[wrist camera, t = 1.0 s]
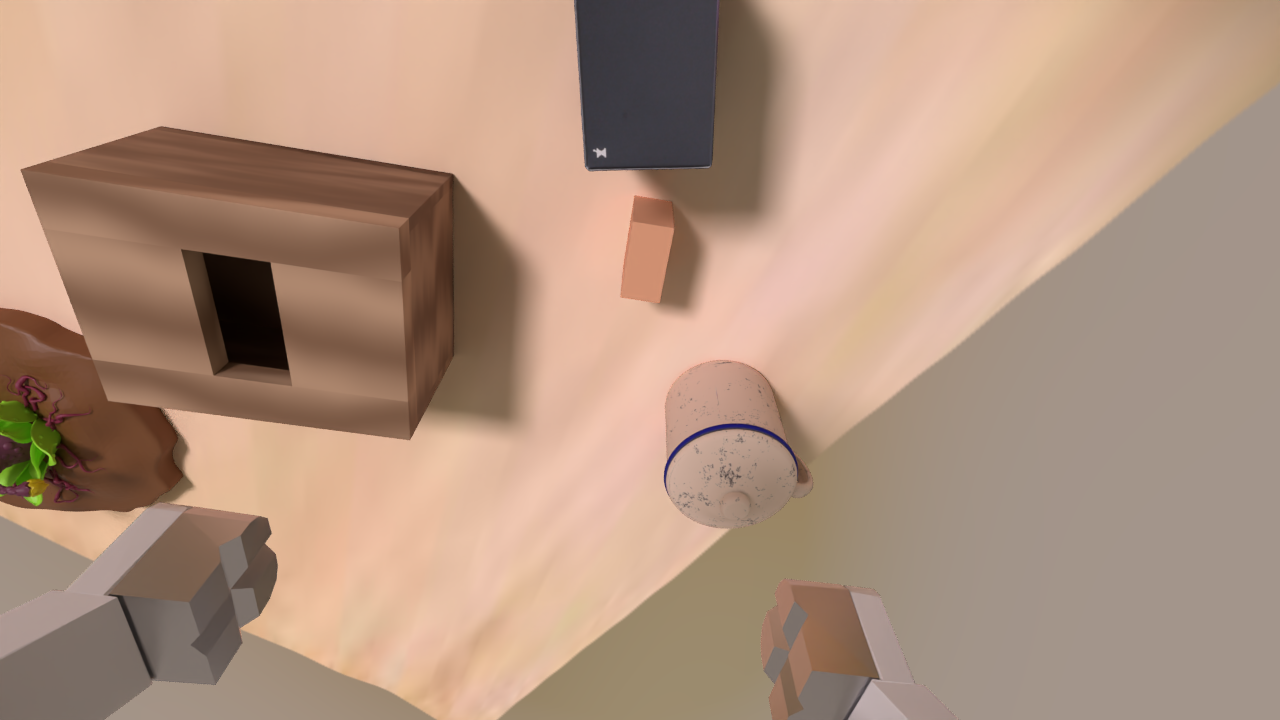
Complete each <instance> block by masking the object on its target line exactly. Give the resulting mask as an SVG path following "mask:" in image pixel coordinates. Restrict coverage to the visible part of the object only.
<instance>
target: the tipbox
mask: <svg viewBox="0 0 1280 720" xmlns="http://www.w3.org/2000/svg"><path fill="white" fill-rule="evenodd" d="M21 172H22V175H23V178H24V180H25V183H26V186H27V188H28V191H29V194H30V196H31V199H32V201H33V204H34V207H35V209H36V212H37V215H38V217H39V220H40V223H41V225H42V228H43V230H44V233H45V236H46V238H47V241H48V244H49V246H50V249H51V252H52V254H53V257H54V259H55V262H56V265H57V267H58V270H59V273H60V275H61V278H62V280H63V283H64V286H65V288H66V291H67V294H68V296H69V299H70V302H71V304H72V307H73V309H74V312H75V315H76V317H77V320H78V323H79V325H80V328H81V331H82V333H83V336H84V338H85V341H86V344H87V346H88V349H89V352H90V354H91V357H92V360H93V362H94V365H95V367H96V370H97V373H98V375H99V378H100V381H101V383H102V386H103V389H104V391H105V394H106V396H107V399H108V401H113V402H121V403H129V404H136V405H144V406H152V407H159V408H167V409H175V410H182V411H190V412H198V413H205V414H213V415H221V416H228V417H236V418H244V419H251V420H259V421H267V422H275V423H282V424H290V425H298V426H305V427H313V428H321V429H328V430H336V431H344V432H351V433H359V434H367V435H374V436H382V437H390V438H397V439H405V440H410V439H411V437H412V436H413V434H414V432H415V430H416V428H417V426H418V424H419V422H420V420H421V418H422V416H423V414H424V412H425V410H426V408H427V407H428V405H429V403H430V401H431V399H432V397H433V395H434V393H435V391H436V389H437V387H438V385H439V383H440V381H441V379H442V378H443V376H444V374H445V372H446V370H447V368H448V366H449V364H450V362H451V360H452V358H453V356H454V310H453V174H451V173H445V172H438V171H432V170H426V169H420V168H414V167H408V166H402V165H395V164H389V163H383V162H377V161H371V160H365V159H358V158H352V157H346V156H340V155H334V154H328V153H322V152H315V151H309V150H303V149H297V148H291V147H285V146H278V145H272V144H266V143H260V142H254V141H248V140H242V139H235V138H229V137H223V136H217V135H211V134H205V133H198V132H192V131H186V130H180V129H174V128H168V127H162V126H161V127H157V128H154V129H151V130H148V131H144V132H141V133H138V134H135V135H131V136H128V137H125V138H122V139H118V140H115V141H112V142H109V143H105V144H102V145H99V146H96V147H92V148H89V149H86V150H83V151H79V152H76V153H73V154H70V155H66V156H63V157H60V158H57V159H53V160H50V161H47V162H44V163H40V164H37V165H34V166H31V167H27V168H24V169H21Z"/></svg>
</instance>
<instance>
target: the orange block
mask: <svg viewBox="0 0 1280 720" xmlns="http://www.w3.org/2000/svg"><path fill="white" fill-rule="evenodd" d="M673 233H674V217H673V207H672V202H671V201H665V200H659V199H653V198H647V197H640V196H634V202H633V208H632V214H631V221H630V227H629V233H628V240H627V246H626V252H625V259H624V265H623V275H622V286H621V296H620V297H622V298H628V299H635V300H641V301H648V302H655V303H660V298H661V293H662V288H663V283H664V278H665V273H666V268H667V263H668V258H669V253H670V248H671V243H672V238H673Z"/></svg>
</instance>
